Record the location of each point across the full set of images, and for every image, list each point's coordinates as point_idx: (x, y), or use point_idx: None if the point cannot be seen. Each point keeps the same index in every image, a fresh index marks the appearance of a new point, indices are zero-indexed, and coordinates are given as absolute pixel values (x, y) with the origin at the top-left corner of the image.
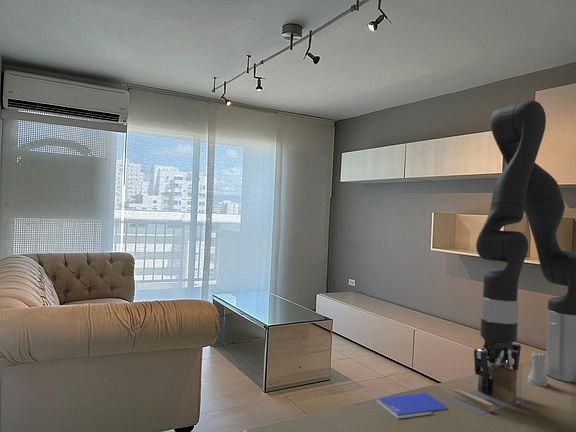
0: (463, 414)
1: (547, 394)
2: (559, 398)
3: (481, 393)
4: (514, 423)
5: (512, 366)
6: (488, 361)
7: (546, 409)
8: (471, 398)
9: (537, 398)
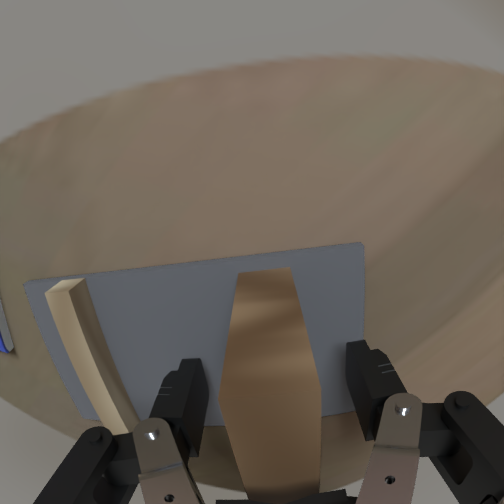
0: (48, 379)
1: (501, 352)
2: (493, 382)
3: (230, 304)
4: None
5: (427, 456)
6: (316, 426)
7: (369, 441)
8: (83, 382)
9: (442, 376)
